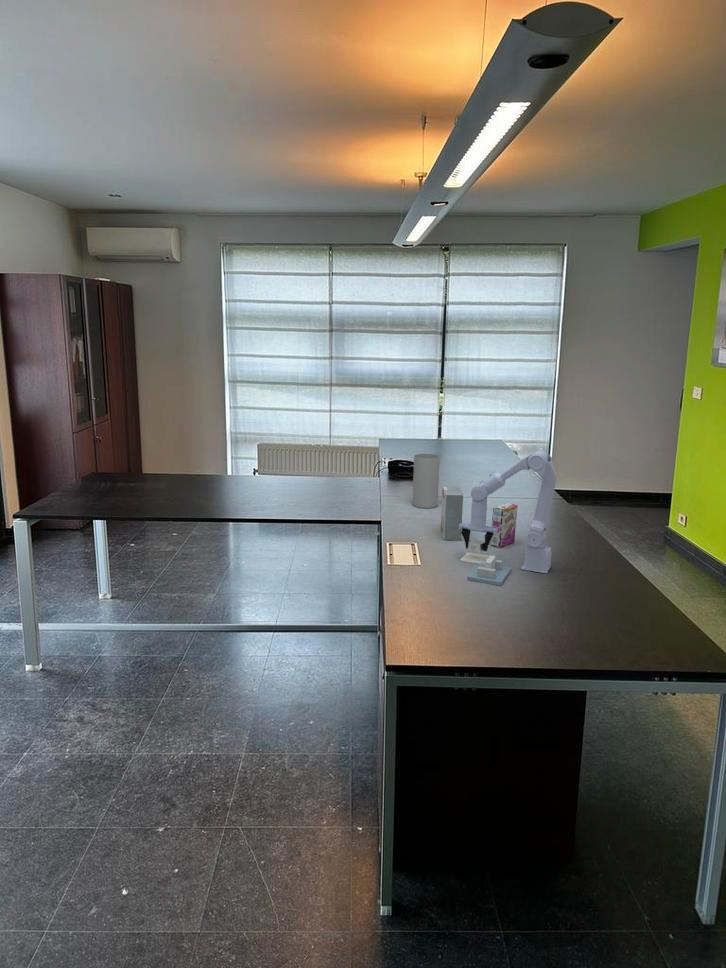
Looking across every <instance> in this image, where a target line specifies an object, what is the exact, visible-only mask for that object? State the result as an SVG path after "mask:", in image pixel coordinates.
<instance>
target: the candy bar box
mask: <svg viewBox="0 0 726 968" xmlns="http://www.w3.org/2000/svg"><path fill="white" fill-rule="evenodd" d="M517 515H518V504H514V503H509V502H508V503H507V502H506V503H502V504H499V505H496V506H494V507H493V506H492V519H491V527H492V528H497V534H496V535H495V534H494V535H493V537H492V538H491V540H490V543H489V546H491V547H496V548H498V549H499V548H503V547H505V546H509V545H511V544H514V543H515V541H516V540H515V538H516V529H517V527H516V526H517V519H518V517H517Z"/></svg>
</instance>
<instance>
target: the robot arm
mask: <svg viewBox="0 0 726 968" xmlns="http://www.w3.org/2000/svg"><path fill="white" fill-rule="evenodd" d="M530 469H531V470H532V471H533V472H535V473H537V475H538V476H539V477H540V478H541V480H542V481H541V485H540V489H539V492H538V493H539V494H538V497H537V503H536V506H535V507H536V508H535V510H534V515H533V520H532V523H531V525H530V528H529V531H528V532H527V534H526V535H525V549H524V561H523V565H522V566H521V570H523V571H530V572H537V573H542V574H548V573H549V571H550V569H551V564H552V563H551V562H552V547H551V546H547V544H546V542H545V541H544V540H545V539H546V538H547V536H548V532H547V525H548V524H547V523H548V522H547V521H548V517H549V514H550V513H549V512H550V509H551V504H552V501H553V500H552V499H553V496H554V492H555V488H556V485H557V484H556V483H557V478H558V473H557V469H556V467H555V465H554V462H553V457H552V456H551V455H550V454H549V453H548V451H546V450H544V449H537V450H535V451H534V452H533V453H532V452H531V453H530V454H527V455H525V456H523V457H522V458H521V457H520V459H518V460H517V461H516V462H514V463H513V464H512V465H510V466H509V467H507V468H506V469H505V470H503V471H502V472H494V473H493V472H491V473H490V474H488V475H489V476H488V477H487V478H485V479H483V480H480V481H479V482H478V484H477V485H474V487H472V489H471V491H470V497H471V498H472V500H471V501H472V502H471V511H470V523H463V522H462V523H460V524H459V529H460V530H461V529H462V530H461V537H463V541H464V544H465V549H467V550H468V541H469V540H471V539H470V538H471V531H472V532H479V533H485V534H484V542H485V548H484V551H485V552H487V551H488V548H489V546H490V541H491V538H492V537H493V535H494V534H495V535H496V534H497V528H492V526H488V525H487V510H488V496H489V495H492V494H493V493H495V492H496V491H498V490H499V489H501V488H502V487H504V486H505V484H506V480H508V479H510V478H511V477H513V476H514V475H516V474H517V473H519V472H521V471H522V470H523V471H524V470H525V471H529V470H530Z"/></svg>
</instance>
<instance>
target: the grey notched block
mask: <svg viewBox="0 0 726 968" xmlns="http://www.w3.org/2000/svg"><path fill="white" fill-rule="evenodd" d="M484 548H485V540H481V539H476V538H472V539H470V540H469V541H468V549H467V551H468V552H469V551H470V552H471V551H474V550H476V554H483V553H484V552H485V551H484Z"/></svg>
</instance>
